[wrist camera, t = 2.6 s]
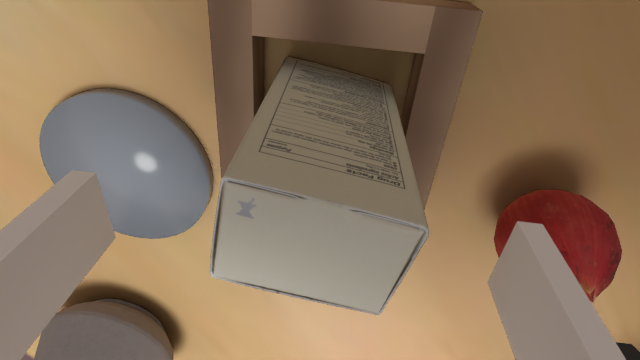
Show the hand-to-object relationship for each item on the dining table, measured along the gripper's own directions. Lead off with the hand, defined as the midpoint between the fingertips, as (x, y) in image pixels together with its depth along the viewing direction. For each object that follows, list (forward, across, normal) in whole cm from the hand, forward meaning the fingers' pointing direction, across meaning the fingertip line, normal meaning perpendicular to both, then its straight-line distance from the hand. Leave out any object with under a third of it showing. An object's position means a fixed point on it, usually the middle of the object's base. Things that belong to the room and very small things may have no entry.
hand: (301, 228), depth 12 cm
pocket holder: (+11, 0, 0) cm, 11 cm away
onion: (+11, -13, +5) cm, 18 cm away
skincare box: (+11, 0, 0) cm, 11 cm away
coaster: (+11, +13, +6) cm, 18 cm away
